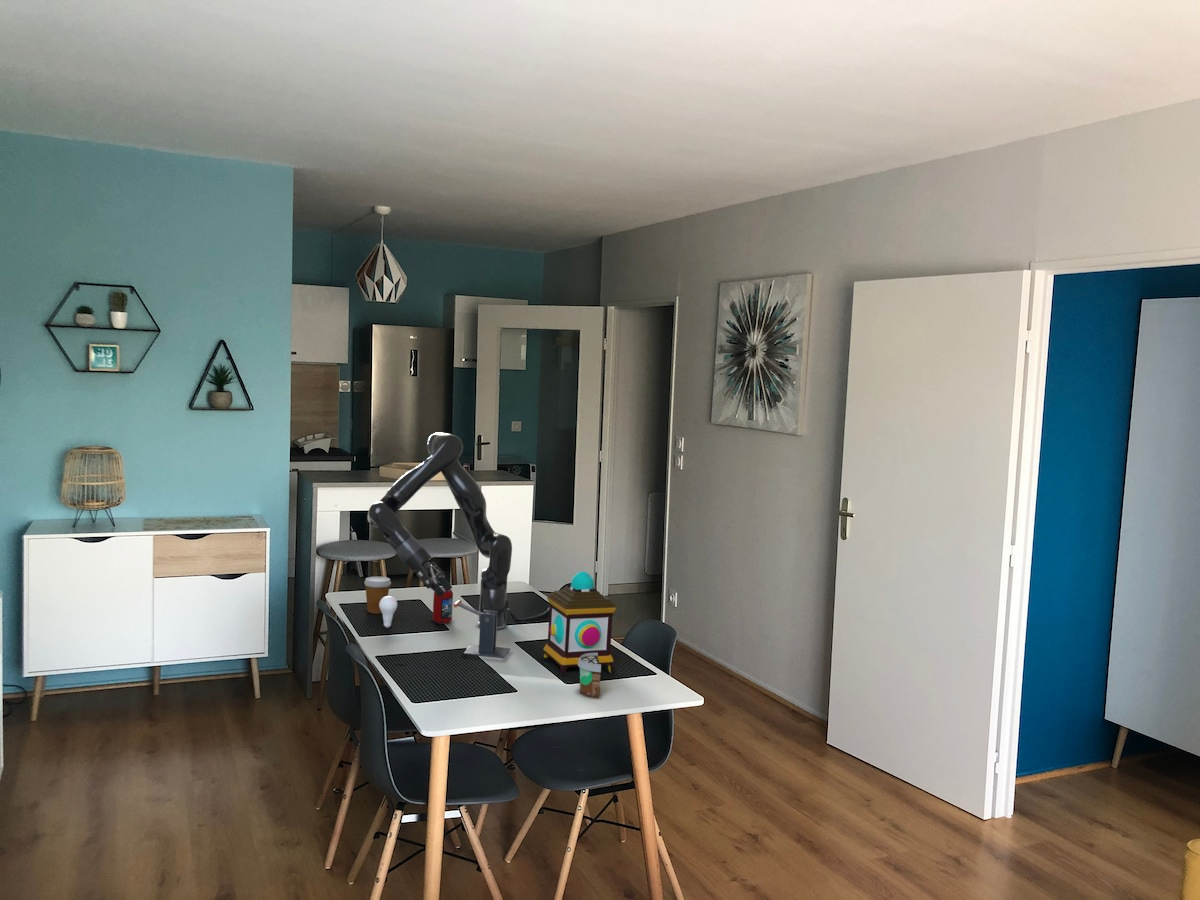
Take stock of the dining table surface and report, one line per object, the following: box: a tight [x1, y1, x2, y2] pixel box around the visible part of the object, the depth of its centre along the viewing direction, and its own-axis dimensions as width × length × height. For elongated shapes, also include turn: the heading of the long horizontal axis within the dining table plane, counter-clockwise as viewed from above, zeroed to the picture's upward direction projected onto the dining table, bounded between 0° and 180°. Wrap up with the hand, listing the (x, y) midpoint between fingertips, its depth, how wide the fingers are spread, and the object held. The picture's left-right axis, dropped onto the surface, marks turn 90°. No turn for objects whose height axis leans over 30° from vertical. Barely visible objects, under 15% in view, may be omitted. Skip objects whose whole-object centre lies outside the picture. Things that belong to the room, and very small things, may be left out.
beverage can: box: [432, 586, 454, 624], centre depth 334 cm, size 7×7×12 cm
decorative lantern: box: [542, 570, 617, 674], centre depth 292 cm, size 20×20×30 cm
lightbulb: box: [379, 595, 398, 629], centre depth 322 cm, size 6×6×11 cm
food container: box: [577, 653, 602, 699], centre depth 269 cm, size 12×6×10 cm, turn 5°
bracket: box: [462, 610, 511, 659], centre depth 298 cm, size 13×10×14 cm
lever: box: [453, 599, 490, 617], centre depth 298 cm, size 13×6×2 cm, turn 84°
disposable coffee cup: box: [363, 576, 392, 614], centre depth 343 cm, size 10×10×12 cm
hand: (446, 592), depth 298 cm, fingers open, 8 cm apart
